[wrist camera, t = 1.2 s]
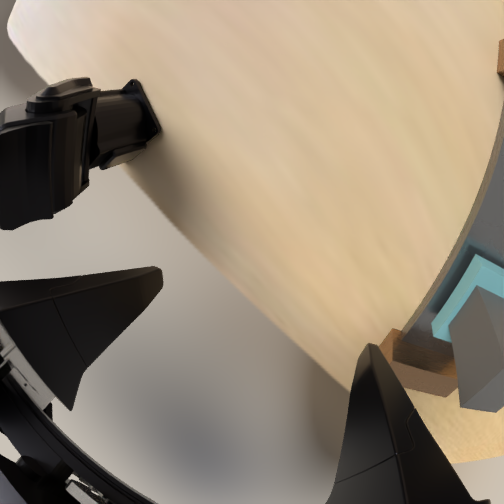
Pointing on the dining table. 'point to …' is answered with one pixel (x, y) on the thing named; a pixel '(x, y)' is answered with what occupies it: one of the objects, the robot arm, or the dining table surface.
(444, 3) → the dining table surface
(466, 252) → the rail
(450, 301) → the grey teal block
